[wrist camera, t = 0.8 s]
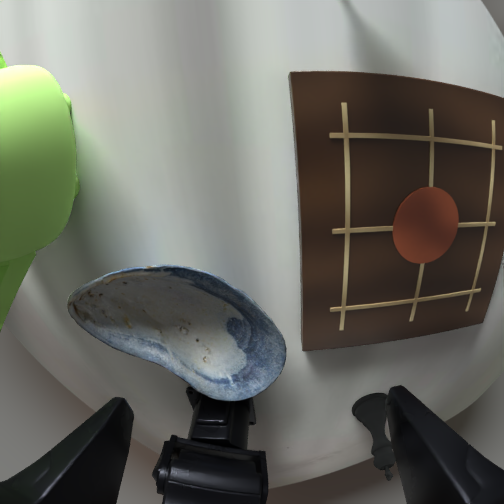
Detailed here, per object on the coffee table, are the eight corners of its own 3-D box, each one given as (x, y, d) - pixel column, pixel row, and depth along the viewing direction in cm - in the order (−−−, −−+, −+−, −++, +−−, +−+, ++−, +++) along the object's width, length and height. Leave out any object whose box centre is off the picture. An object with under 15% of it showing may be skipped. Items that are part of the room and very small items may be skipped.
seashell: (133, 366, 27) (116, 403, 22) (86, 254, 22) (53, 284, 17) (287, 365, 25) (290, 408, 21) (276, 234, 20) (279, 267, 16)
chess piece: (380, 386, 27) (404, 466, 17) (394, 402, 28) (416, 474, 19) (344, 405, 28) (359, 485, 19) (361, 419, 29) (376, 491, 20)
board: (475, 314, 23) (483, 323, 21) (300, 339, 24) (302, 352, 23) (503, 100, 15) (516, 101, 13) (288, 75, 16) (290, 70, 15)
